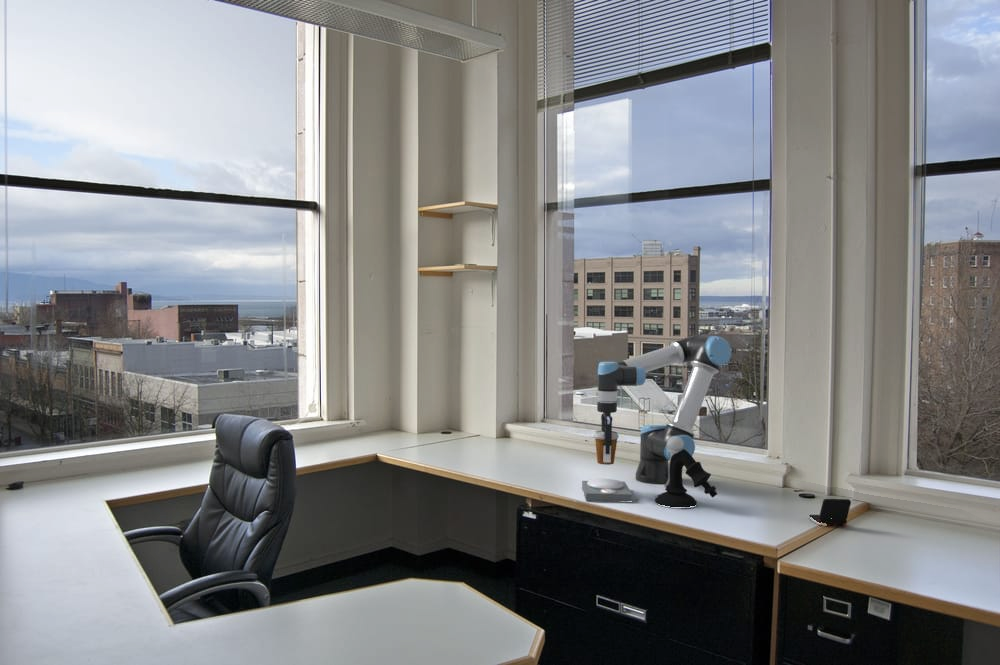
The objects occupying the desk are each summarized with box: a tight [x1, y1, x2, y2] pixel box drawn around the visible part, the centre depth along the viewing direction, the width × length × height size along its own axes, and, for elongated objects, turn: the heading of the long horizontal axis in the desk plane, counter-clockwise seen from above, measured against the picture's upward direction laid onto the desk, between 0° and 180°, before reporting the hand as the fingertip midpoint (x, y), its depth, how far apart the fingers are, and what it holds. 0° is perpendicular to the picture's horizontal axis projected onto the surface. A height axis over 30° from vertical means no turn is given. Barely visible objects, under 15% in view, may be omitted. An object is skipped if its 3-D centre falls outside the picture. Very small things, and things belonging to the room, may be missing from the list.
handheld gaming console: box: [808, 498, 852, 528], centre depth 255 cm, size 9×12×10 cm
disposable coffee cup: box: [593, 430, 619, 466], centre depth 291 cm, size 10×10×12 cm
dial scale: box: [581, 478, 633, 502], centre depth 289 cm, size 17×20×4 cm
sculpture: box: [654, 436, 719, 507], centre depth 275 cm, size 15×24×25 cm, turn 48°
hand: (605, 459), depth 291 cm, fingers closed on disposable coffee cup, 8 cm apart
